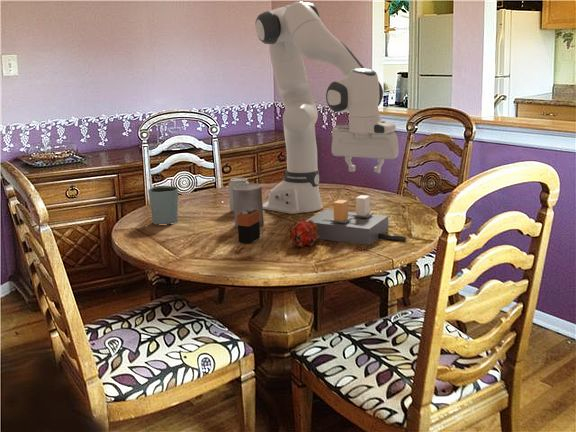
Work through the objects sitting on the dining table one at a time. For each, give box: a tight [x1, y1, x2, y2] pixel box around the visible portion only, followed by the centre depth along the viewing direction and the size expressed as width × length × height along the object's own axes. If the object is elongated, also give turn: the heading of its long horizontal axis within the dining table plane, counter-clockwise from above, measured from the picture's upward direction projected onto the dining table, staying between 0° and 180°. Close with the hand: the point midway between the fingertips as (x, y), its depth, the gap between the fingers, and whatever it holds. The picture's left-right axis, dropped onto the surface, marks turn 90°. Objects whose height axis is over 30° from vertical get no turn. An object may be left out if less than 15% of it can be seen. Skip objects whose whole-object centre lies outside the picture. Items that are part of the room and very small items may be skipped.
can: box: [228, 177, 250, 213], centre depth 235 cm, size 8×8×12 cm
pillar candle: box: [233, 181, 265, 229], centre depth 214 cm, size 10×10×15 cm
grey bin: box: [147, 185, 179, 225], centre depth 223 cm, size 10×10×12 cm
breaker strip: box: [305, 209, 407, 246], centre depth 201 cm, size 31×16×5 cm, turn 61°
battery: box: [237, 208, 261, 245], centre depth 199 cm, size 4×7×10 cm, turn 153°
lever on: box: [353, 194, 374, 218], centre depth 203 cm, size 5×5×6 cm
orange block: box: [330, 199, 352, 223], centre depth 198 cm, size 5×5×6 cm
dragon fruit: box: [289, 218, 320, 249], centre depth 193 cm, size 8×8×12 cm
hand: (364, 172), depth 191 cm, fingers open, 7 cm apart
